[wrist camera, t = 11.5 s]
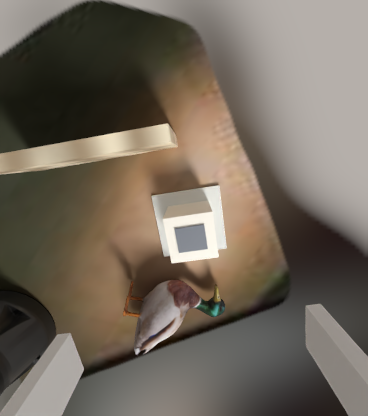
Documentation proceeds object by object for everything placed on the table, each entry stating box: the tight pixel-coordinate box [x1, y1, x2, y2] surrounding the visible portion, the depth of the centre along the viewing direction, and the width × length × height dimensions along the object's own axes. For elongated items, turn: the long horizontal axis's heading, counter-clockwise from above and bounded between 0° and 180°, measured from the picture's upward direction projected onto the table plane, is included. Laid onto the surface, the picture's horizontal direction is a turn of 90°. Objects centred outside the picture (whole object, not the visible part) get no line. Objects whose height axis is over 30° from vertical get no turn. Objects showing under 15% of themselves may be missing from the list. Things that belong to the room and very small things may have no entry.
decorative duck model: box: [123, 280, 225, 355], centre depth 31 cm, size 15×8×15 cm
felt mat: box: [152, 185, 227, 257], centre depth 30 cm, size 10×10×1 cm
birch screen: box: [0, 123, 178, 174], centre depth 23 cm, size 20×2×10 cm, turn 99°
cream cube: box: [163, 200, 219, 263], centre depth 27 cm, size 6×6×6 cm
